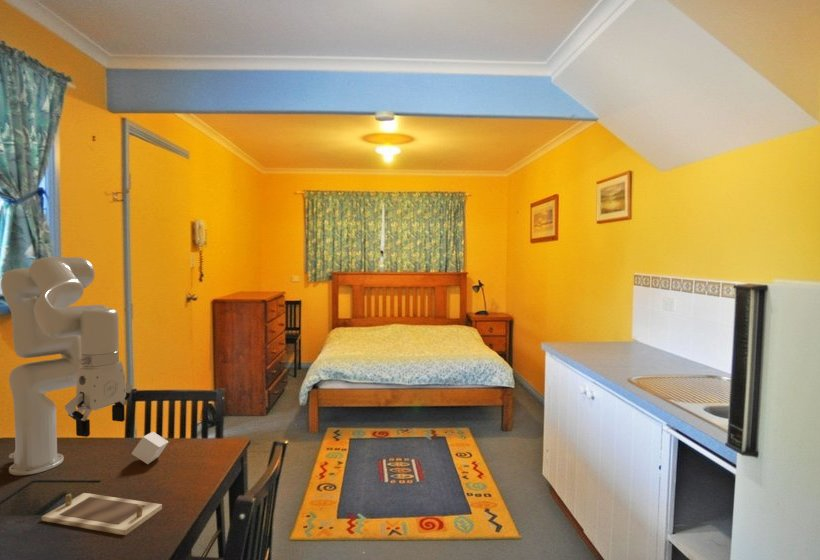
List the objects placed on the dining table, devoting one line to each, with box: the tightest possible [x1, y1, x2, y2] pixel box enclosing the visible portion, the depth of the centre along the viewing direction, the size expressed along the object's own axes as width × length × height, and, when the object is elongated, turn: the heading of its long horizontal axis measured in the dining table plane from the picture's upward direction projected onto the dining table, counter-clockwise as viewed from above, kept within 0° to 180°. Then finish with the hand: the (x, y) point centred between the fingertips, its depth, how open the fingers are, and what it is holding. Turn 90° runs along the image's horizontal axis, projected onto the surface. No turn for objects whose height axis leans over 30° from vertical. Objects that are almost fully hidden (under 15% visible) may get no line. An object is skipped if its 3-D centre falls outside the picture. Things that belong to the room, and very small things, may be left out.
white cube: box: [131, 431, 169, 465], centre depth 137 cm, size 6×6×6 cm
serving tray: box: [41, 492, 163, 536], centre depth 109 cm, size 24×11×4 cm, turn 78°
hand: (101, 428), depth 108 cm, fingers open, 9 cm apart
